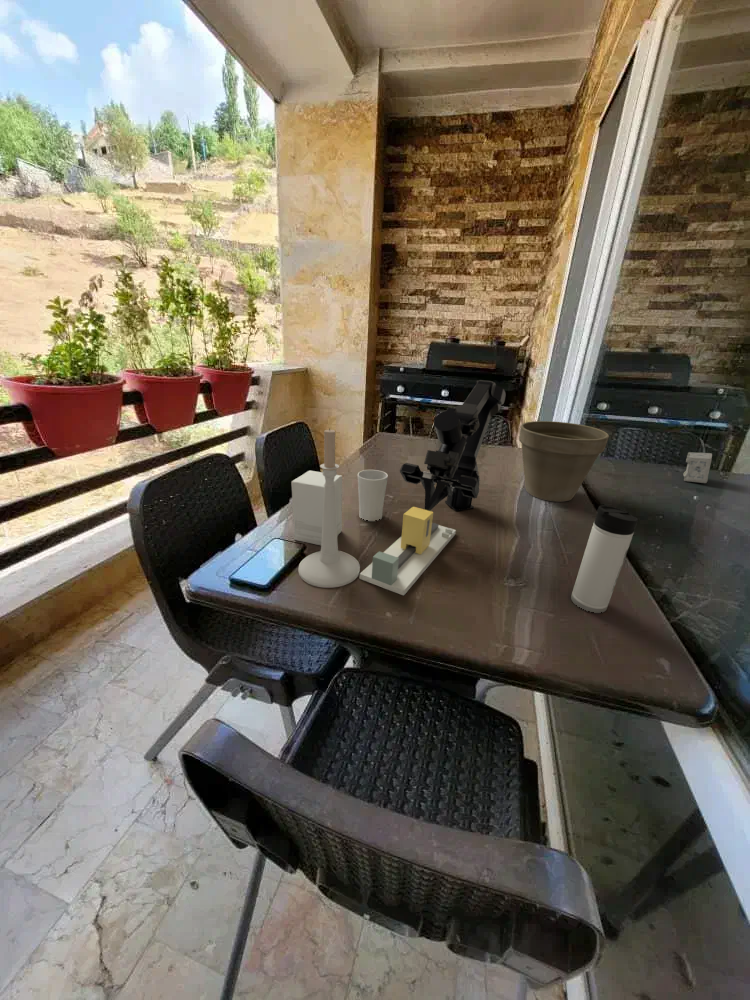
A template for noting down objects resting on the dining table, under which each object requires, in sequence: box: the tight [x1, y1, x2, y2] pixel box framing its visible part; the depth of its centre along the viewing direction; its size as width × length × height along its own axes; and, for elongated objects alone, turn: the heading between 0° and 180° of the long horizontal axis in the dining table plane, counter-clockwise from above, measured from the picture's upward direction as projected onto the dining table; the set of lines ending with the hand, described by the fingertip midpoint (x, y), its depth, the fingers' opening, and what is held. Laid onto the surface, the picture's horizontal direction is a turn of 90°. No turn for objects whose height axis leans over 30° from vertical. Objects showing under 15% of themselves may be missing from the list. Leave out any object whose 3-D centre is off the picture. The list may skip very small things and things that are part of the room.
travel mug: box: [570, 505, 639, 614], centre depth 71 cm, size 6×7×20 cm
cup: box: [357, 469, 389, 522], centre depth 104 cm, size 8×8×12 cm
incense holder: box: [682, 451, 713, 484], centre depth 147 cm, size 10×8×10 cm
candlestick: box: [297, 427, 361, 589], centre depth 76 cm, size 13×13×30 cm
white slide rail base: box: [359, 522, 457, 596], centre depth 88 cm, size 30×10×6 cm, turn 150°
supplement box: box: [290, 470, 343, 546], centre depth 92 cm, size 9×9×15 cm
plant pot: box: [518, 420, 610, 503], centre depth 124 cm, size 25×25×22 cm
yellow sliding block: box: [400, 506, 434, 554], centre depth 87 cm, size 5×5×8 cm
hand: (426, 511), depth 90 cm, fingers closed
